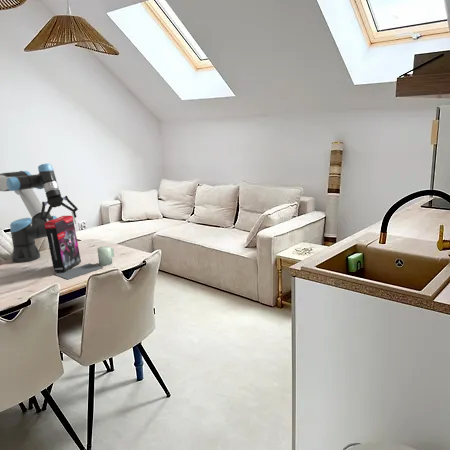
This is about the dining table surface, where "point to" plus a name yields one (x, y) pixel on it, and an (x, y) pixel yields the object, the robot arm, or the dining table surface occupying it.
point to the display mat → (78, 271)
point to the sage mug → (105, 255)
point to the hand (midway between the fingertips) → (63, 227)
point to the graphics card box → (62, 243)
